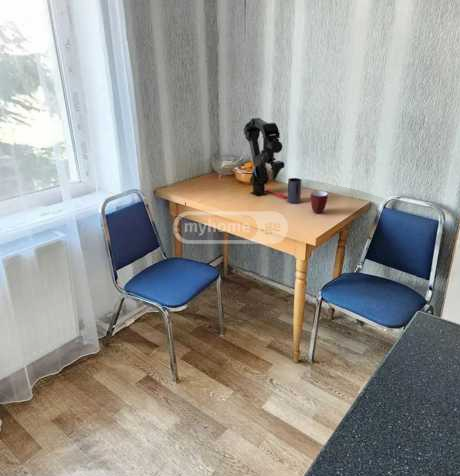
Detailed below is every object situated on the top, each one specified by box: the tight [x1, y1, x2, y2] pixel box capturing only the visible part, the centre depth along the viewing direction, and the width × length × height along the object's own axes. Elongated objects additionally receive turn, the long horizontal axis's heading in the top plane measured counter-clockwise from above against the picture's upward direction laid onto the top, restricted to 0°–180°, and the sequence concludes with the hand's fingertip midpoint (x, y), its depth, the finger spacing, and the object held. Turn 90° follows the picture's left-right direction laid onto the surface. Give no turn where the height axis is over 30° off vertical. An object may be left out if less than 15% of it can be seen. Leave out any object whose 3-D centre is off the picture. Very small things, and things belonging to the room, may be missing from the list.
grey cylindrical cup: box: [286, 177, 303, 205], centre depth 209 cm, size 7×7×12 cm
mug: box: [310, 190, 329, 215], centre depth 195 cm, size 11×8×10 cm
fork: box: [265, 188, 288, 200], centre depth 222 cm, size 16×3×1 cm, turn 36°
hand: (267, 178), depth 207 cm, fingers open, 9 cm apart
